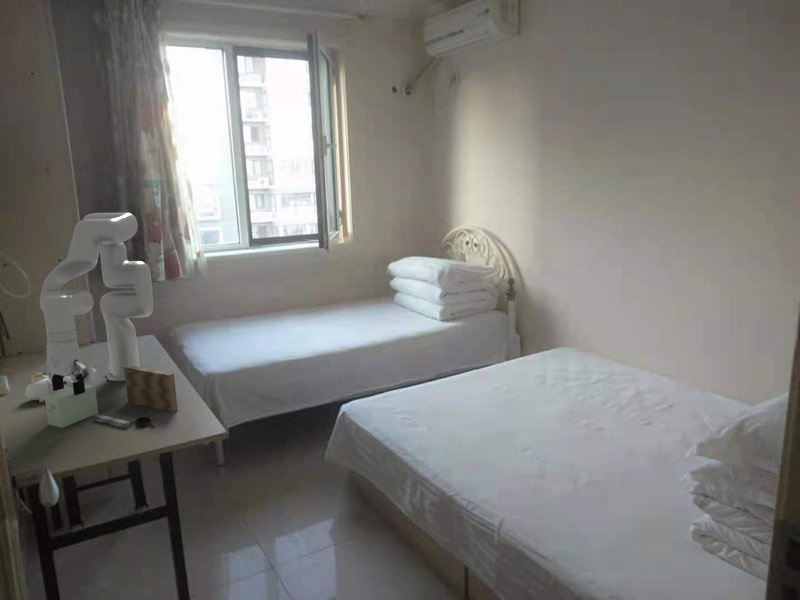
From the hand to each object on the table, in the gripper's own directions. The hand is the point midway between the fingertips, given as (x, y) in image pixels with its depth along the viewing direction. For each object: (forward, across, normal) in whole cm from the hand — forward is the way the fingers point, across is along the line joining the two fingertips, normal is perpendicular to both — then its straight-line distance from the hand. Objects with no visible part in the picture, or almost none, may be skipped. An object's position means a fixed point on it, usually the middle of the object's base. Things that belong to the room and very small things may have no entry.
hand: (69, 391), depth 175 cm
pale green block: (+9, 0, +1) cm, 9 cm away
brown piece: (+9, +14, +10) cm, 19 cm away
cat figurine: (+9, -24, +10) cm, 28 cm away
